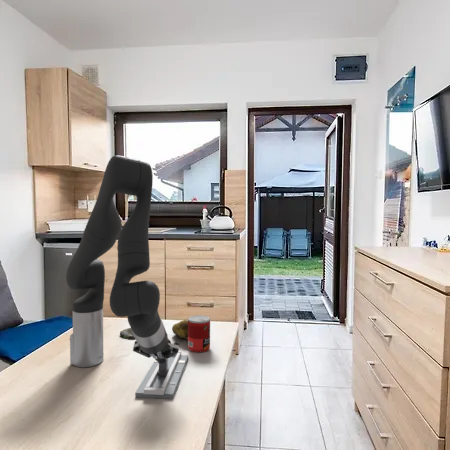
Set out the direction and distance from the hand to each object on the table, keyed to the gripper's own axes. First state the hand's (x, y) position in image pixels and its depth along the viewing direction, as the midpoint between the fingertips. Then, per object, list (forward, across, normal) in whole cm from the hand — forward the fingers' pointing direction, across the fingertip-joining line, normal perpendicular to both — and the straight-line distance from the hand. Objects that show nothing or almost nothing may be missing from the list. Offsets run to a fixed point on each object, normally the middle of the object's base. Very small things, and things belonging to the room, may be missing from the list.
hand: (161, 359), depth 101 cm
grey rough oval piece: (+31, +20, -21) cm, 43 cm away
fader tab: (+5, 0, +2) cm, 5 cm away
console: (+7, 0, +2) cm, 7 cm away
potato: (+29, 0, -19) cm, 35 cm away
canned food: (+22, -7, -13) cm, 27 cm away
